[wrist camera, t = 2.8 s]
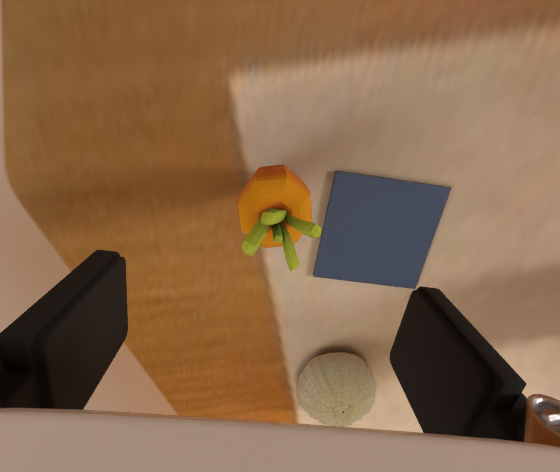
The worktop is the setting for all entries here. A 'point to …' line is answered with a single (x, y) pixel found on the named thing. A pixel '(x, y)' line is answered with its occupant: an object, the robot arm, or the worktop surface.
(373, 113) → the worktop surface
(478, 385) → the robot arm
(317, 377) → the sea urchin shell
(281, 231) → the carrot
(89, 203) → the worktop surface
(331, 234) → the napkin
